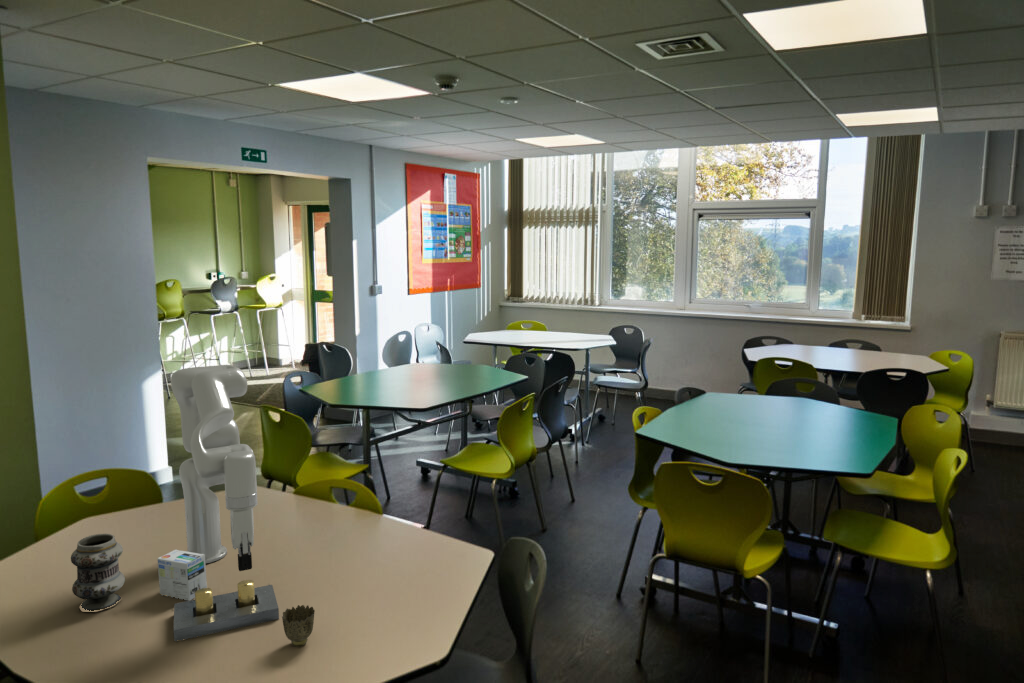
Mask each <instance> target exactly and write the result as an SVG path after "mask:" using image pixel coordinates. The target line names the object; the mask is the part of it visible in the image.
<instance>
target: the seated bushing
mask: <svg viewBox="0 0 1024 683" xmlns="http://www.w3.org/2000/svg"><path fill="white" fill-rule="evenodd" d="M213 596H214V595H213V588H211V587H207V588H202V589H199V590H197V591H196V592H195V598H194V600H195V603H196V617H199V616H203V615H208V614H213V613H214V611H213Z"/></svg>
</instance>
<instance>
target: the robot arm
mask: <svg viewBox="0 0 1024 683" xmlns="http://www.w3.org/2000/svg"><path fill="white" fill-rule="evenodd" d="M170 387H171V391H172V394H173V395H174V398H175V400H176V402H177V405H178V408H179V411H180V424H181V425H180V426H181V438H182V445H183V447H184V448H183V449H184V450H185V451H186V452H187V453H191V456H192V457H191V458H187V459H185V460H184V461H182V463H181V464H180V465H179V470H178V471H179V472H178V473H179V479H180V482H181V486H182V492H183V498H184V500H183V501H184V512H185V513H184V515H185V516H184V517H185V528H186V529H185V530H186V532H185V533H186V546H187V550H185V551H186V552H193V553H200V554H205V565H206V564H210V563H213V562H217V561H220V560H221V559H222V558H225V556H226V555H227V553H228V549H227V547H226V546H224V545H222V535H221V532H222V531H221V516H220V502H219V501H220V500H219V497H218V496H217V495H216V493H215V492H214V491H213V490H211V489H210V487H213V486H216V485H224V491H225V492H224V494H225V496H224V497H225V508H226V510H228V511H229V514H230V515H229V516H230V517H229V518H230V539H231V545H232V549H234V550H237V551H238V553H237V566H238V571H239V572H243V571H249V570H252V569H253V560H252V559H253V557H252V551H251V548H252V547H253V546H254V541H255V540H254V539H255V538H254V537H255V532H254V531H255V529H254V524H255V523H254V508H255V507H256V506H258V504H259V503H258V483H257V467H256V465H257V464H256V455H255V453H254V450H253V449H252V447H251V446H249V445H248V444H246V443H241V439H240V430H239V427H238V424H237V422H236V420H235V419H234V417H235V411H234V408H233V405H232V402H231V398H238V397H240V398H241V397H243V396H244V395H246V393H247V392H248V379H247V376H246V374H245V373H244V372H243V370H242V369H241V368H239V367H237V366H235V365H232V364H220V365H219V364H218V365H210V366H208V365H206V366H195V367H194V366H193V367H187V368H181V369H177V370H176V371H175V372H173V373H172V375H171V377H170Z"/></svg>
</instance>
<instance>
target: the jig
mask: <svg viewBox="0 0 1024 683" xmlns="http://www.w3.org/2000/svg"><path fill="white" fill-rule="evenodd" d="M254 591H255V605H252V606H247V607H242V608H239V604H238V590H237V591H233V592H229V593H228V592H226V593H221V594H217V595H213V611H214V613H213V614H208V615H203V616H199V617H196V603H195V599H192V600H190V601H188V600H185V601H182V602H177V603H174V604H173V605H174V606H173V640H174V641H176V642H178V641H177V640H181V641H184V640H183V639H185V640H189V639H188V638H190V639H193V637H194V638H198V637H197V636H199V637H203V636H202V635H204V636H208V635H212V634H216V633H217V634H218V633H221V632H225V631H226V632H227V631H231V630H236V629H239V628H244V627H248V626H254V625H257V624H262V623H263V624H264V623H267V622H271V621H276V620H280V615H279V614H280V611H279V604H278V600H277V597H276V593H275V590H274V587H273V584H267V585H263V586H258V587H254ZM207 634H208V635H207Z"/></svg>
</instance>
